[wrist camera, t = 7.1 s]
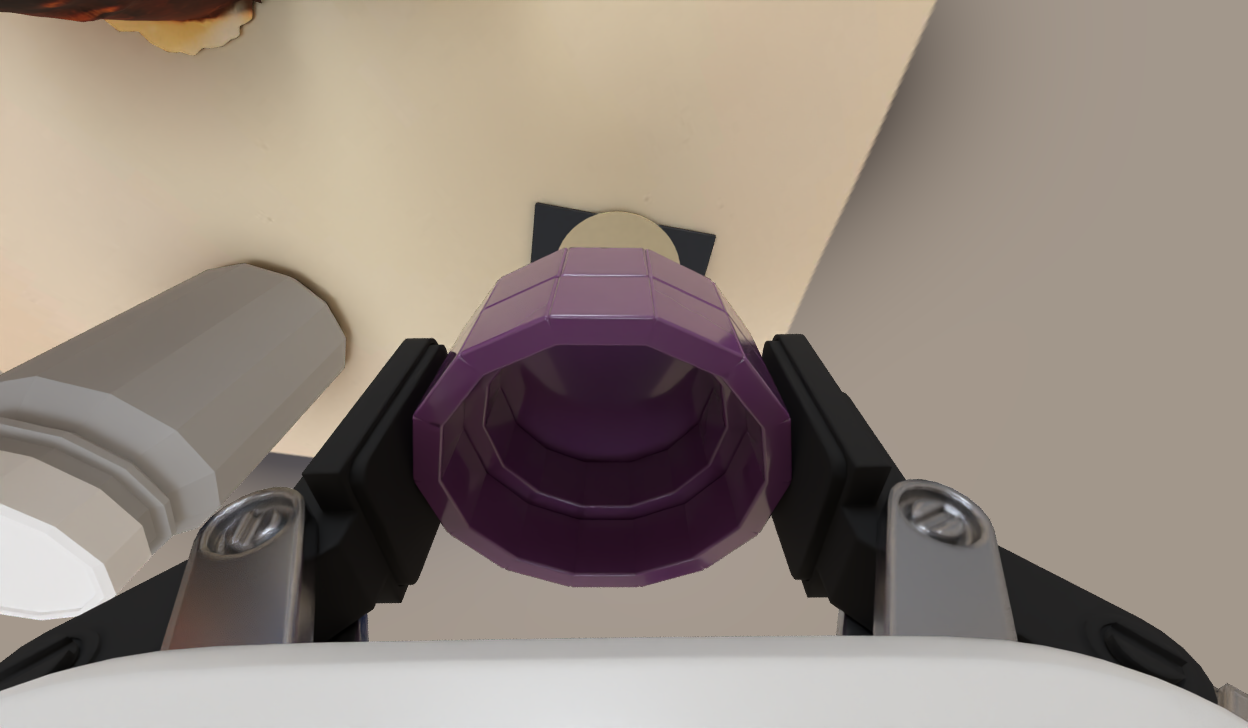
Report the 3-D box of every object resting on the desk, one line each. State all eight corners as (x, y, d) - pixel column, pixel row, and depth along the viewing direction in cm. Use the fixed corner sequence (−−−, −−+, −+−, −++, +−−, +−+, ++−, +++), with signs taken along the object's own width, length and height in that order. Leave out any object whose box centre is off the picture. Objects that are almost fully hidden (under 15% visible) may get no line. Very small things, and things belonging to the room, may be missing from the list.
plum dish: (520, 176, 9) (471, 233, 6) (808, 319, 10) (880, 417, 7) (432, 421, 12) (373, 535, 9) (663, 499, 14) (675, 616, 11)
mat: (537, 193, 27) (535, 195, 27) (717, 226, 28) (718, 229, 28) (517, 447, 38) (516, 451, 38) (647, 464, 39) (648, 468, 39)
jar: (189, 339, 32) (-183, 581, 17) (215, 225, 28) (-251, 417, 13) (332, 403, 36) (120, 654, 21) (375, 309, 31) (147, 541, 16)
